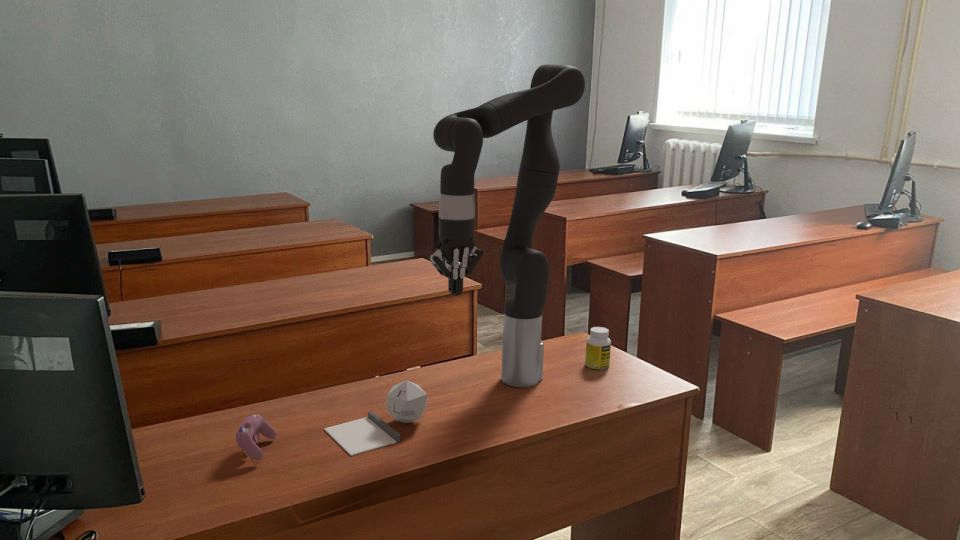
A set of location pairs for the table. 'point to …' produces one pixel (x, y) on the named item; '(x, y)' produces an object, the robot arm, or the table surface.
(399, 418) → the die
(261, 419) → the video game controller
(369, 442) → the white l-shaped plate
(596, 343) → the pill bottle
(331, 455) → the table surface
